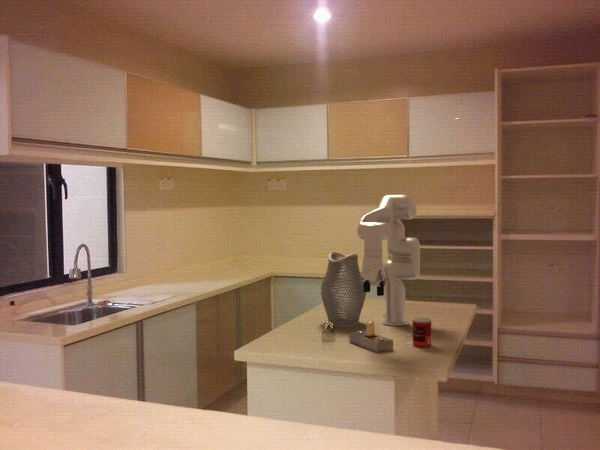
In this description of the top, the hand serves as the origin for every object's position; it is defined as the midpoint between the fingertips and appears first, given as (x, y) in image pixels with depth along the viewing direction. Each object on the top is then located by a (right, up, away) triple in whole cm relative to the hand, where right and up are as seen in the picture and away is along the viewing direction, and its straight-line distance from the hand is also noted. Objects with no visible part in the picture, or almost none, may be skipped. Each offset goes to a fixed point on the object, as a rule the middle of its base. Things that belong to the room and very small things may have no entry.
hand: (373, 293), depth 244 cm
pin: (-1, -22, -2) cm, 22 cm away
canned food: (+20, -22, -2) cm, 29 cm away
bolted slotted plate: (-1, -22, -2) cm, 22 cm away
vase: (-9, -20, +43) cm, 48 cm away
